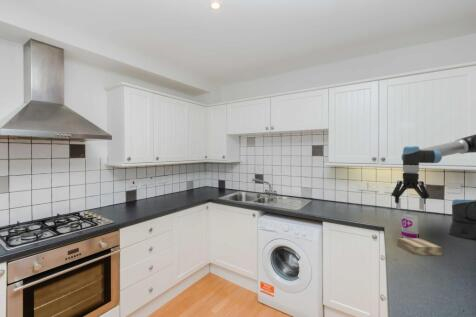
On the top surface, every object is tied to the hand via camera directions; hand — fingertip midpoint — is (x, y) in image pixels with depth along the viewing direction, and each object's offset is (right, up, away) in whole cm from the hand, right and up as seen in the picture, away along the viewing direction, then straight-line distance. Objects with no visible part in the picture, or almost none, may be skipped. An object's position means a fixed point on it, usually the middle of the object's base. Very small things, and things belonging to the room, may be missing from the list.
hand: (409, 209), depth 134 cm
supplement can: (0, -19, 0) cm, 19 cm away
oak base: (-6, -18, -14) cm, 24 cm away
